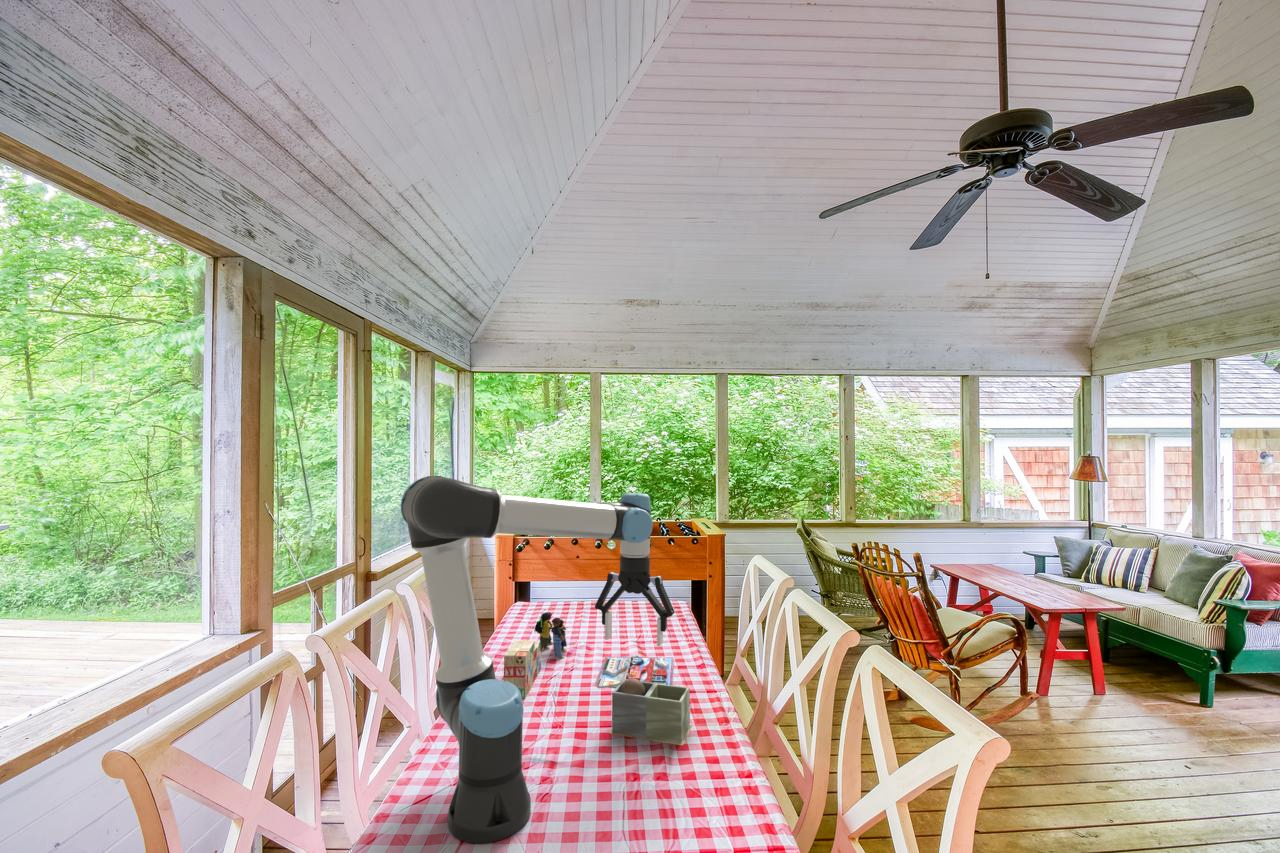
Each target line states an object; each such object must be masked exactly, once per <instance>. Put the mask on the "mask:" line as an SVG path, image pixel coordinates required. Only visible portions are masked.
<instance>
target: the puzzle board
mask: <svg viewBox="0 0 1280 853" xmlns="http://www.w3.org/2000/svg"><path fill="white" fill-rule="evenodd" d="M599 670H600V671H598V672H599V673H598V675H597V678H596V680H595V684H594V685H593V686H595V687H598V688H600V689H602V688H609V689H614V690H615V689H616V688H617V686H618V685H619V684H620V683H621V682H622V681H623V680H624V679H632V678H633V679H637V680H639V681H643V682H651V683H659V684H666V685H673V678H674V676H673V675H674V657H672V656H670V657H669V656H667V657H666V656H663V657H662V656H639V655H638V654H637V655H636V654H635V655H633V656H632V655H631V656H604V659H603V662H602V664H601V667H600V669H599Z"/></svg>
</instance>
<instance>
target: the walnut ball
mask: <svg viewBox="0 0 1280 853" xmlns="http://www.w3.org/2000/svg"><path fill="white" fill-rule="evenodd" d="M621 693H627V694H634V695H642V696H644V695H645V689H644V686H643V684H642V683H641V682H640V681H639V680H637V679H633V678H632V679H628V680H626V681H625V682H624V683H623V685H622V687H621Z"/></svg>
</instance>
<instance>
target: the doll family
mask: <svg viewBox="0 0 1280 853" xmlns="http://www.w3.org/2000/svg"><path fill="white" fill-rule="evenodd" d="M552 616H553V615H552V612H548V611H546V612H543V613H542V614H541V616H540V618H539V620H537V621H534V620H533V621H534V622H533V623H536V624H535V626H533V627H532V628H531V629H533V631H534V632H536V633H537V634H539V641H540V650H541V651H549V650H550V647H549V646H553V650H554V651H553V652H554V654H553V658H555V659H556V660H564V659H565V656H564V655H563V654H565V653H568V650H567V649H566V647H568V646H567V640H566V635H567V633H566V631H567V629H568V628H569V626H565V625H564V620H563V619H561V618H560V617H555V618H553V619H552ZM551 619H552V620H551ZM550 620H551V621H550ZM550 632H551V633H552V636H551V634H550Z"/></svg>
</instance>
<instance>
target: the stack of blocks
mask: <svg viewBox="0 0 1280 853" xmlns="http://www.w3.org/2000/svg"><path fill="white" fill-rule="evenodd" d="M540 646H541V645H540V640H514V641H513V643H512V644H511V646H510V647H509V649H508V650H507V651H506V652H505V653H504V655H503V657H504V658H503V682H505V681H508V682H510V683H512V684H514V685H515V686H516V687H517V688H518V689H519V691H520V692H521V695H522V700H526V698H527V696H528V695H529V693H530V691H531V690H532V688H533V685H534V683H535V681H536V680H537V677H538V676H539V674H540V672H541V669H542V666H541V665H542V664H541V660H542V657H541V656H542V654H541V653H542V650H541V649H540Z"/></svg>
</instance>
